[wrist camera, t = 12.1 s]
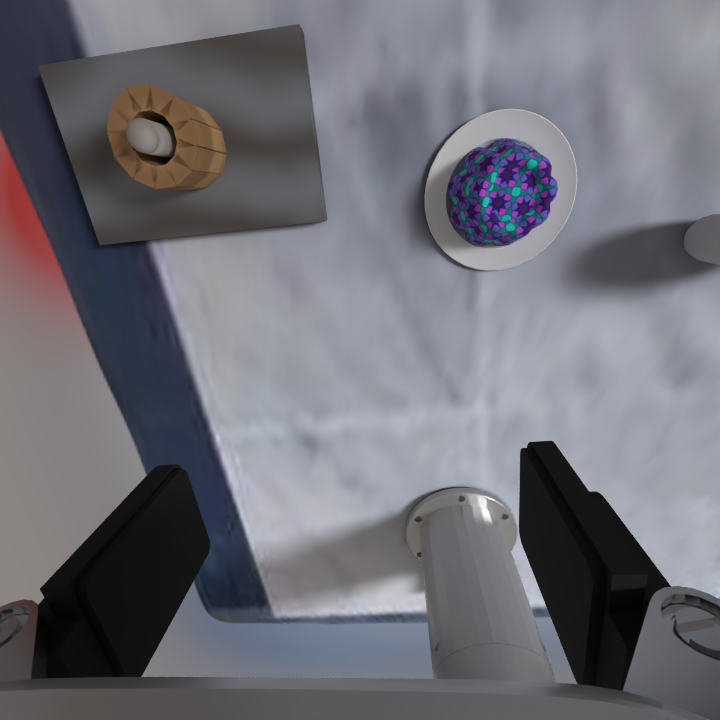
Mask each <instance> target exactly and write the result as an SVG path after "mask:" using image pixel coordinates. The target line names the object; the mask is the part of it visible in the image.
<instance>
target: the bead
mask: <svg viewBox="0 0 720 720" xmlns="http://www.w3.org/2000/svg"><path fill="white" fill-rule="evenodd" d="M111 105H112V106H113V107H112V106H110V111H109V118H108V125H107V131H109V132H107V134H108V137H109V140H110V143H111V147H112V150H113V153H114V156H115V157H117V158H116V160H117V161H118V162H119V163H120V164H121V166H122V167H123V168H124V169H125V170H126V172H127V173H128V174H129V175H130V176H131V177H132V178H134V180H136V181H138V182H141V183H143V184H145V185H147V186H150V187H152V188H154V189H170V190H195V189H203V188H207V187H209V186H210V185H211V184H212V183H213V182H214V181H216V180H217V179H218V178H219V177H220V176H221V175H220V174H222V171H223V167H224V164H225V160H226V156H227V155H226V154H225V153H227V152H226V147H225V143H224V138H223V133H222V131H221V129H220V127H219V126H218V125H217V123H216V122H215V121H214V119H213V118H212V117H211V115H210V114H209V113H208V112H207V111H206V110H204V109H202V108H200V107H198V106H196V105H193V104H191V103H189V102H187V101H185V100H183V99H181V98H179V97H177V96H175V95H173V94H171V93H168V92H166V91H164V90H162V89H160V88H158V87H156V86H154V85H152V84H143V85H137V86H131V87H127V88H125V89H124V90H123V91H122V93H121V94H120V95H119V96H118V97H117V98H116V99H115V100H114V102H113V103H112V104H111ZM135 118H144V119H147V120H151V121H154V122H157V123H160V124H163V125H166V126H169V127H172V128H173V129H174V133H175V137H176V141H177V146H176V150H175V155H174V157H173V158H167V157H162V156H156V155H151V154H145V153H141V152H139V151H137V150H136V149H135V148H134V147H133V146H132V145H131V144H130V143H129V141H128V139H127V136H126V127H127V125H128V123H129V122H130V121H131V120H133V119H135Z"/></svg>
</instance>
